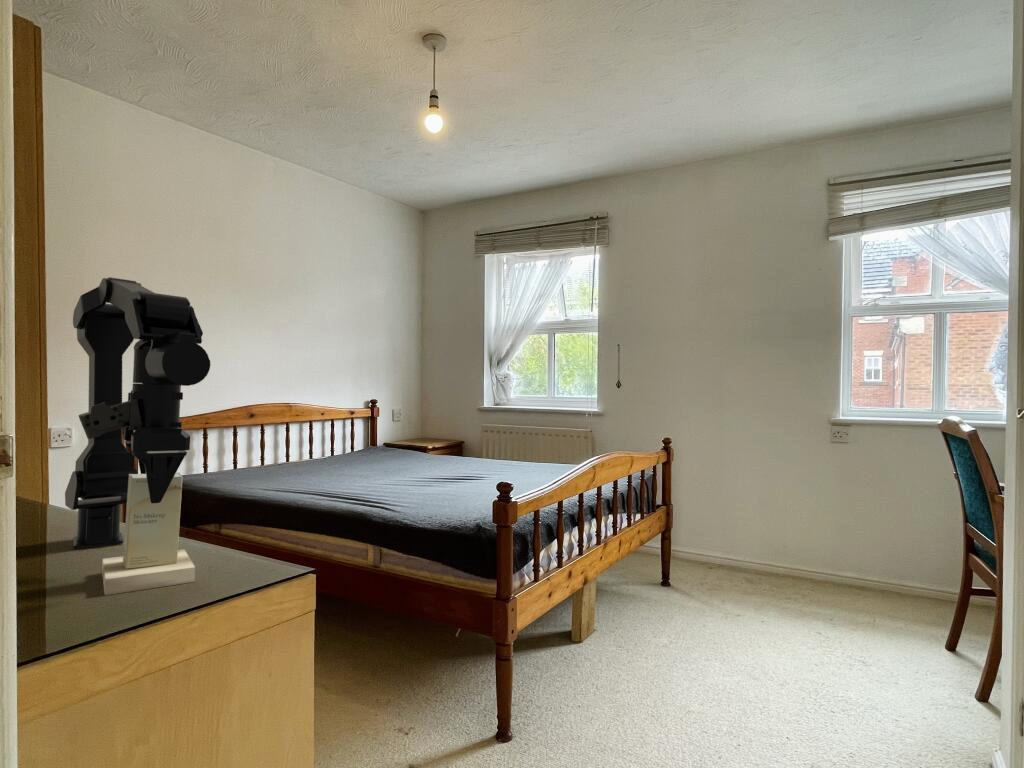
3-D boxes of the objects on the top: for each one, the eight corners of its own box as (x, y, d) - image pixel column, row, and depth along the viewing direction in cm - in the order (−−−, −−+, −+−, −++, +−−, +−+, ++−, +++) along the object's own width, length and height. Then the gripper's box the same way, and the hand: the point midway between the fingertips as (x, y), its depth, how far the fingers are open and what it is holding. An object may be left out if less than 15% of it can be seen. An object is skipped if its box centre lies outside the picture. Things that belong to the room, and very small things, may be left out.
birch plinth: (101, 573, 80) (102, 558, 80) (183, 562, 86) (184, 549, 86) (104, 595, 72) (105, 579, 72) (194, 581, 78) (195, 567, 78)
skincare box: (124, 570, 76) (129, 478, 76) (122, 561, 79) (126, 473, 79) (179, 563, 80) (183, 475, 80) (174, 555, 83) (178, 471, 83)
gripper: (84, 381, 82) (78, 490, 82) (85, 382, 67) (79, 516, 67) (173, 384, 89) (169, 485, 88) (193, 386, 74) (187, 507, 74)
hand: (151, 496), depth 79 cm, fingers open, 9 cm apart
